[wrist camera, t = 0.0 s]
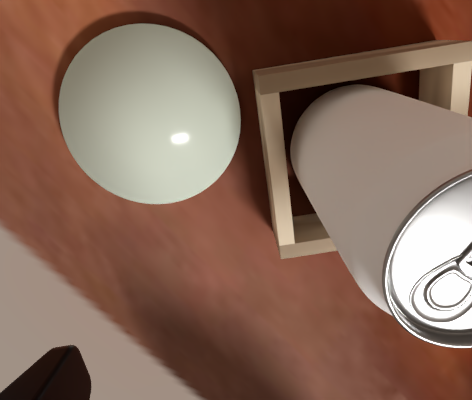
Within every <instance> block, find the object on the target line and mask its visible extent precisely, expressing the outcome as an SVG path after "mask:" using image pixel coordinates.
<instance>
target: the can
mask: <svg viewBox="0 0 472 400" xmlns="http://www.w3.org/2000/svg"><path fill="white" fill-rule="evenodd" d="M290 155H291V162H292V166H293V169H294V172H295V174H296V176H297V178H298V180H299V182H300V184H301V186H302V188H303V190H304V191H305V193H306V195H307V197H308V199H309V201H310V202H311V204H312V206H313V208H314V210H315V211H316V213H317V215H318V217H319V218H320V220H321V222H322V224H323V226H324V227H325V229H326V231H327V233H328V234H329V236H330V238H331V240H332V242H333V243H334V245H335V247H336V249H337V250H338V252H339V254H340V256H341V257H342V259H343V261H344V263H345V264H346V266H347V268H348V269H349V271H350V273H351V274H352V276H353V278H354V279H355V281H356V282H357V284H358V285H359V287H360V288H361V290H362V291H363V292H364V293H365V295H366V296H367V297H368V298H369V299H370V300H371V301H372V302H373V303H374V304H375V305H377V306H378V307H379V308H381V309H382V310H384V311H385V312H387V313H389V314H391V315H392V316H393V317H394V318H395V320H396V321H397V322H398V323H399V324H400V325H401V326H402V327H403V328H404V329H405V330H406V331H408V332H409V333H410V334H412V335H413V336H415V337H417V338H419V339H421V340H423V341H426V342H428V343H431V344H435V345H439V346H443V347H451V348H472V117H469V116H465V115H462V114H459V113H456V112H453V111H450V110H447V109H444V108H441V107H438V106H435V105H432V104H429V103H426V102H423V101H419V100H416V99H413V98H410V97H407V96H404V95H401V94H397V93H394V92H391V91H388V90H384V89H381V88H378V87H374V86H369V85H359V84H356V85H347V86H342V87H338V88H336V89H333V90H331V91H329V92H327V93H325V94H323V95H322V96H320V97H319V98H317V99H316V100H315V101H314V102H313V103H312V104H310V106H309V107H308V108H307V109H306V110H305V111H304V113H303V114H302V115H301V117H300V118H299V120H298V122H297V124H296V126H295V129H294V132H293V135H292V139H291V146H290Z"/></svg>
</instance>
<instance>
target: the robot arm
mask: <svg viewBox="0 0 472 400" xmlns="http://www.w3.org/2000/svg"><path fill="white" fill-rule="evenodd" d="M90 393H91V379H90V375H89V373H88V370H87V368H86V366H85V363H84V361H83V358H82V356H81V353H80V351H79V349H78V348H77V347H76V346H74V345H68V346H62V347H56V348H53V349H51V350H50V351H48V352H47V353H46V354H45V355H43V356H42V357H41V358H40V359H39V360H38V361H37V362H35V363H34V364H33V365H32V366H31V367H30V368H29V369H28V370H26V371H25V372H24V373H23V374H22V375H20V376H19V377H18V378H17V379H16V380H15V381H14V382H12V383H11V384H10V385H9V386H8V387H7V388H5V390H3V391H2V392H1V393H0V400H89V398H90Z"/></svg>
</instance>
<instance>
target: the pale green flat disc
mask: <svg viewBox="0 0 472 400" xmlns="http://www.w3.org/2000/svg"><path fill="white" fill-rule="evenodd" d="M59 119H60V125H61V129H62V133H63V137H64V139H65V141H66V144H67V146H68V148H69V150H70V152H71V154H72V156H73V157H74V159H75V160H76V162H77V163H78V164H79V166H80V167H81V168H82V169H83V170H84V172H85V173H86V174H87V175H88V176H89V177H90V178H91V179H93V180H94V181H95V182H96V183H97V184H99V185H100V186H102V187H103V188H105V189H106V190H108V191H110V192H111V193H113V194H115V195H117V196H120V197H122V198H125V199H128V200H131V201H135V202H140V203H147V204H166V203H173V202H178V201H182V200H185V199H187V198H190V197H192V196H194V195H196V194H198V193H200V192H202V191H203V190H205V189H206V188H208V187H209V186H210V185H211V184H213V183H214V182H215V181H216V180H217V179H218V178H219V177H220V176H221V174H222V173H223V172H224V171H225V169H226V168H227V166H228V165H229V163H230V161H231V159H232V157H233V155H234V153H235V150H236V147H237V144H238V140H239V135H240V126H241V115H240V106H239V101H238V96H237V93H236V90H235V88H234V85H233V82H232V80H231V78H230V76H229V74H228V72H227V71H226V69H225V68H224V66H223V65H222V63H221V62H220V61H219V59H218V58H217V57H216V56H215V55H214V54H213V53H212V52H211V51H210V50H209V49H208V48H207V47H206V46H205V45H203V44H202V43H201V42H199V41H198V40H196V39H195V38H193V37H192V36H190V35H188V34H186V33H184V32H182V31H179V30H176V29H173V28H170V27H167V26H162V25H156V24H143V23H139V24H129V25H124V26H120V27H116V28H113V29H111V30H108V31H106V32H104V33H102V34H100V35H99V36H97V37H95V38H94V39H92V40H91V41H90V42H89V43H87V44H86V45H85V46H84V47H83V48H82V49H81V50H80V51H79V52H78V54H77V55H76V56H75V57H74V59H73V60H72V62H71V63H70V65H69V67H68V69H67V71H66V73H65V75H64V78H63V82H62V85H61V88H60V95H59Z"/></svg>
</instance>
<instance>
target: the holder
mask: <svg viewBox="0 0 472 400" xmlns="http://www.w3.org/2000/svg"><path fill="white" fill-rule="evenodd" d="M418 69H420V78H419V101H423V102H426V103H429V104H432V105H435V106H438V107H441V108H444V109H447V110H450V111H453V112H456V113H459V114H462V115H465V116H468V105H469V93H470V81H471V69H472V41H456V40H434V41H428V42H422V43H416V44H410V45H404V46H398V47H392V48H386V49H379V50H373V51H367V52H361V53H355V54H349V55H343V56H337V57H331V58H325V59H318V60H312V61H306V62H300V63H294V64H288V65H282V66H276V67H270V68H264V69H257V70H252V71H253V79H254V87H255V95H256V102H257V110H258V118H259V126H260V133H261V141H262V149H263V157H264V164H265V172H266V180H267V188H268V195H269V203H270V211H271V219H272V226H273V233H274V237H275V240H276V244H277V247H278V251H279V254H280V258H281V259H286V258H292V257H298V256H305V255H311V254H318V253H324V252H331V251H337V249H336V247H335V245H334V243H333V242H332V240H331V238H330V236H329V234H328V233H327V231H326V229H325V227H324V226H323V224H322V222H321V220H320V218H319V217H318V215H317V213H315V214H308V215H302V216H295V217H292V212H291V202H290V193H289V184H288V174H287V165H286V155H285V146H284V136H283V127H282V117H281V108H280V98H279V92H283V91H289V90H296V89H302V88H308V87H314V86H320V85H326V84H332V83H339V82H345V81H351V80H357V79H363V78H369V77H375V76H382V75H388V74H394V73H400V72H406V71H412V70H418Z"/></svg>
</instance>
